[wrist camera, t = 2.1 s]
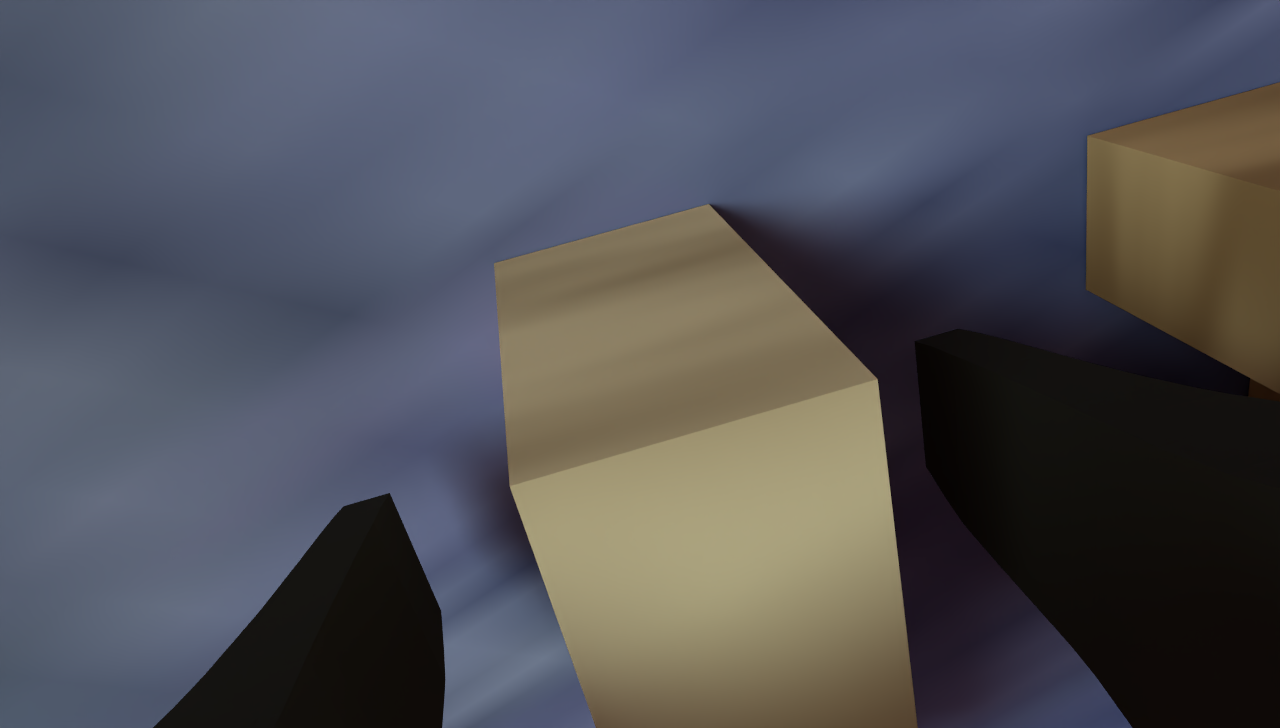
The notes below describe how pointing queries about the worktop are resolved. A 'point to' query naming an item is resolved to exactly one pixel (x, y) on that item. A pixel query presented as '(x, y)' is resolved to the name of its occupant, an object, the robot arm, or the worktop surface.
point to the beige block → (701, 484)
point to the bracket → (1194, 228)
